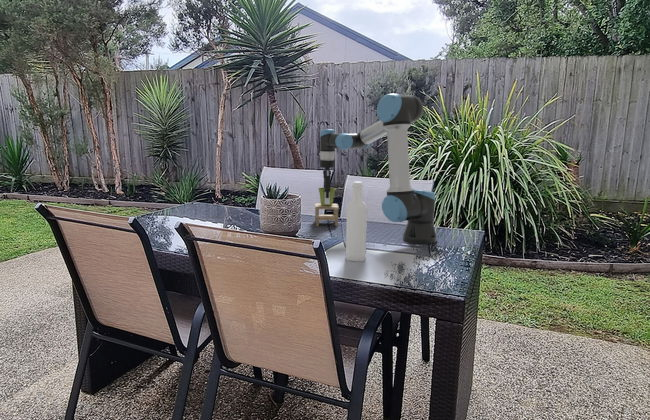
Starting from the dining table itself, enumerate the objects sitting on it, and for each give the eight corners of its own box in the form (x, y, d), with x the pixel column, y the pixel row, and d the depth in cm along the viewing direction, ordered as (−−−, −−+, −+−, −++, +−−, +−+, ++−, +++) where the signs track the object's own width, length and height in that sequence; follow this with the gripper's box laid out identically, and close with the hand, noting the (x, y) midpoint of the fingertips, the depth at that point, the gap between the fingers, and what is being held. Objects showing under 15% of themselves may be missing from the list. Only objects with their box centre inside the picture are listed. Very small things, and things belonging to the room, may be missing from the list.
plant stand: (338, 226, 224) (338, 207, 222) (315, 226, 223) (315, 207, 222) (336, 221, 236) (336, 203, 234) (314, 221, 235) (314, 203, 233)
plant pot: (338, 204, 229) (339, 188, 228) (330, 206, 221) (330, 190, 220) (323, 203, 234) (323, 187, 233) (314, 205, 226) (314, 188, 225)
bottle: (346, 255, 172) (347, 180, 167) (366, 256, 172) (368, 181, 166) (344, 261, 165) (346, 183, 159) (365, 262, 164) (368, 183, 158)
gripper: (319, 158, 234) (318, 199, 238) (320, 161, 212) (320, 206, 217) (332, 158, 234) (332, 199, 238) (336, 161, 213) (335, 206, 217)
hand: (326, 202), depth 227 cm, fingers closed on plant pot, 9 cm apart
